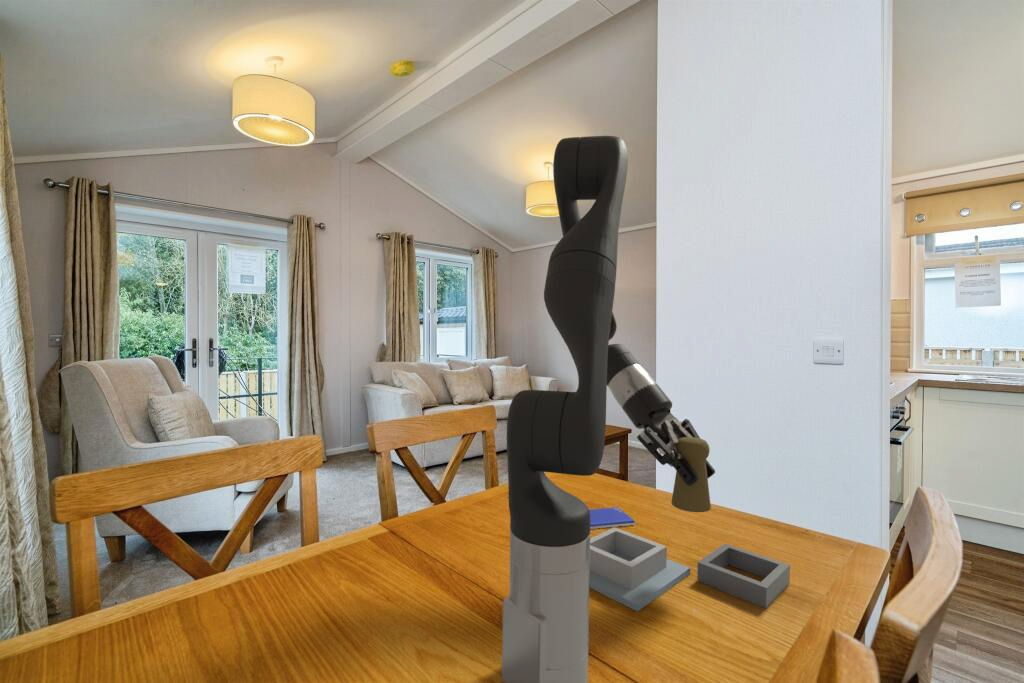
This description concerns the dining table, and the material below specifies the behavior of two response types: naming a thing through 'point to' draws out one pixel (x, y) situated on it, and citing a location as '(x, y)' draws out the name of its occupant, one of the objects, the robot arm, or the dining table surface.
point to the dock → (631, 568)
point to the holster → (741, 585)
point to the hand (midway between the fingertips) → (702, 479)
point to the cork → (696, 455)
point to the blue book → (609, 518)
